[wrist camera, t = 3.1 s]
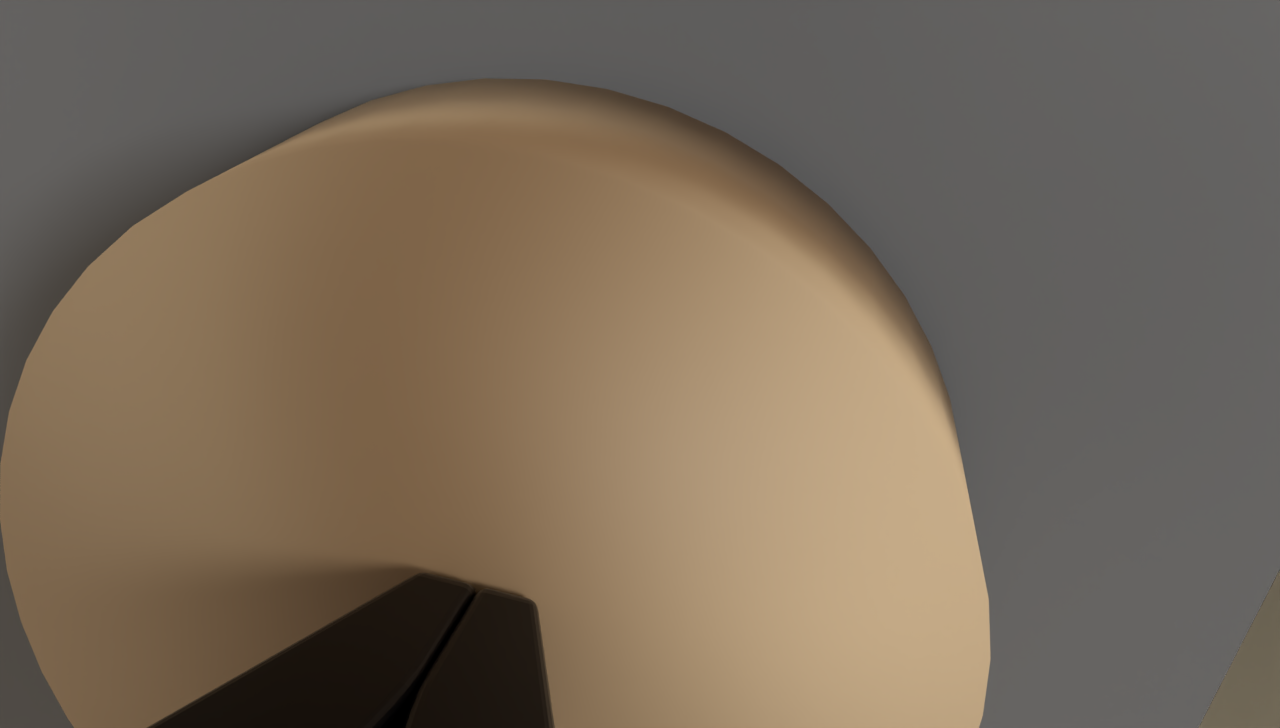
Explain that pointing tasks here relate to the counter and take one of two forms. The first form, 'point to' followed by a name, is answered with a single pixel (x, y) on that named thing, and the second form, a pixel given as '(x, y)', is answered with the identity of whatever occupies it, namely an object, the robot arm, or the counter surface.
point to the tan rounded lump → (502, 424)
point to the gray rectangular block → (878, 213)
